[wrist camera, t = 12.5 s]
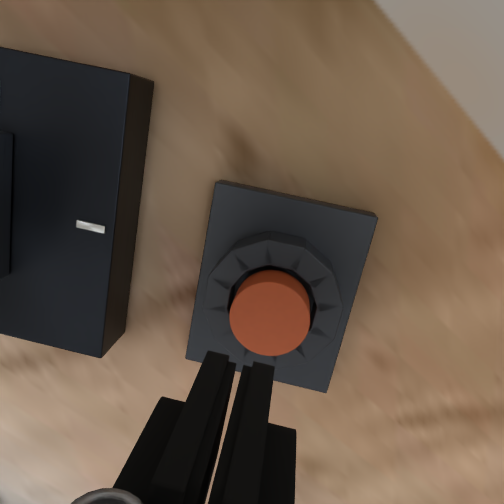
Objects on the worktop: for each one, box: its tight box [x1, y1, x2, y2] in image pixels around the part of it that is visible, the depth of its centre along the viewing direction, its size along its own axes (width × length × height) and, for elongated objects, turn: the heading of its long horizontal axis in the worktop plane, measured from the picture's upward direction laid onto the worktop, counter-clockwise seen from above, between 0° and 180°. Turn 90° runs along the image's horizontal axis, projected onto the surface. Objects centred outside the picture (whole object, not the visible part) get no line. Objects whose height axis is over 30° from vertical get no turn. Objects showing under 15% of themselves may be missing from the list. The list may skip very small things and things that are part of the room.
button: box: [229, 270, 310, 356], centre depth 19 cm, size 4×4×2 cm
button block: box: [185, 180, 378, 393], centre depth 21 cm, size 10×8×3 cm
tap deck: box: [0, 47, 154, 358], centre depth 21 cm, size 14×12×3 cm
